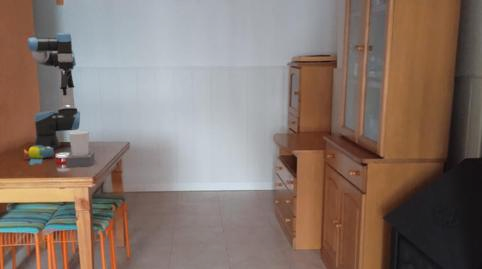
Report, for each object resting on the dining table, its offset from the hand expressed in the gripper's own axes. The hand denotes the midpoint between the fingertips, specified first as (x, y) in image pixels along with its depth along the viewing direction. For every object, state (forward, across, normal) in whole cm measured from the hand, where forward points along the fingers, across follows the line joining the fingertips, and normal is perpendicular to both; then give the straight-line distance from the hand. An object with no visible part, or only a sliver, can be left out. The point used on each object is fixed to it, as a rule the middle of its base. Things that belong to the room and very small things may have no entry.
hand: (68, 100), depth 251 cm
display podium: (+33, -19, -8) cm, 39 cm away
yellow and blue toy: (+34, 0, +18) cm, 38 cm away
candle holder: (+28, -19, -8) cm, 35 cm away
